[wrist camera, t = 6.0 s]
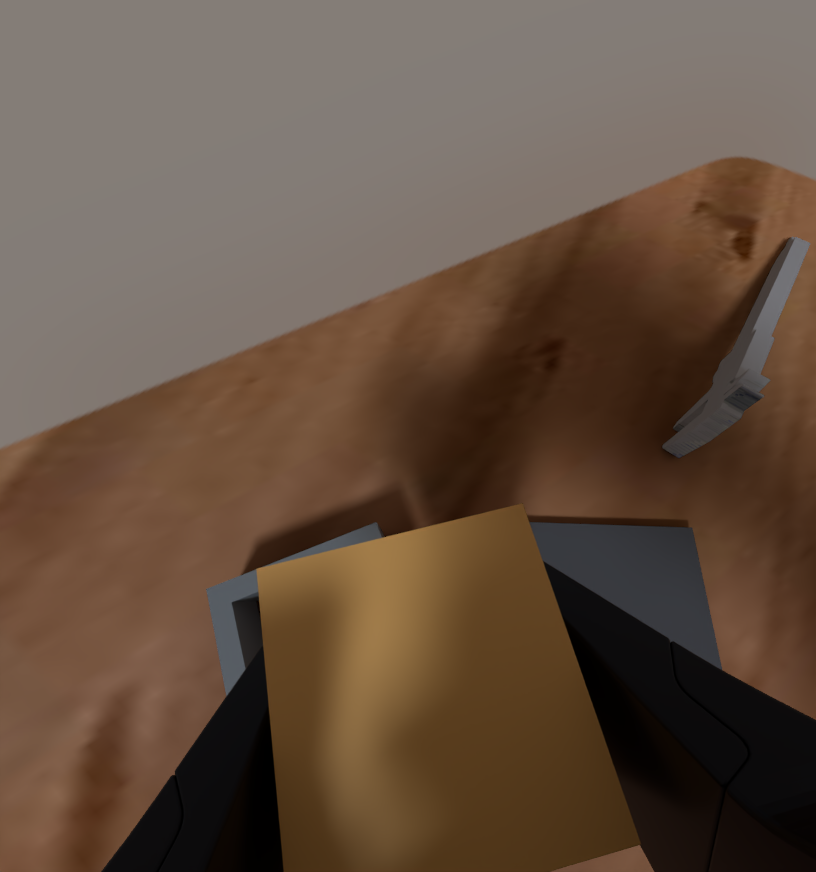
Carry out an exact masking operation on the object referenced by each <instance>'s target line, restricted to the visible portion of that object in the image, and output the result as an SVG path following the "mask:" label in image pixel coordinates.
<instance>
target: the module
mask: <svg viewBox="0 0 816 872" xmlns="http://www.w3.org/2000/svg"><path fill="white" fill-rule="evenodd" d="M256 571H257V582H258V593H259V604H260V615H261V626H262V637H263V648H264V659H265V670H266V681H267V692H268V703H269V714H270V725H271V736H272V747H273V758H274V769H275V780H276V791H277V802H278V813H279V824H280V835H281V846H282V857H283V868H284V872H550V871H553V870H556V869H560V868H563V867H566V866H570V865H573V864H577V863H580V862H583V861H587V860H590V859H593V858H597V857H600V856H604V855H607V854H610V853H614V852H617V851H621V850H624V849H627V848H631V847H634V846H637V845H641V842H640V840H639V837H638V834H637V831H636V828H635V825H634V822H633V819H632V817H631V814H630V811H629V808H628V805H627V802H626V799H625V796H624V793H623V791H622V788H621V785H620V782H619V779H618V776H617V773H616V770H615V768H614V765H613V762H612V759H611V756H610V753H609V750H608V747H607V745H606V742H605V739H604V736H603V733H602V730H601V727H600V724H599V722H598V719H597V716H596V713H595V710H594V707H593V704H592V701H591V698H590V696H589V693H588V690H587V687H586V684H585V681H584V678H583V675H582V673H581V670H580V667H579V664H578V661H577V658H576V655H575V652H574V650H573V647H572V644H571V641H570V638H569V635H568V632H567V629H566V627H565V624H564V621H563V618H562V615H561V612H560V609H559V606H558V603H557V601H556V598H555V595H554V592H553V589H552V586H551V583H550V580H549V578H548V575H547V572H546V569H545V566H544V563H543V560H542V557H541V555H540V552H539V549H538V546H537V543H536V540H535V537H534V534H533V532H532V529H531V526H530V523H529V520H528V517H527V514H526V511H525V508H524V506H523V503H522V504H517V505H513V506H509V507H505V508H501V509H497V510H493V511H489V512H485V513H481V514H477V515H473V516H469V517H465V518H461V519H457V520H452V521H448V522H444V523H440V524H436V525H432V526H428V527H424V528H420V529H416V530H412V531H408V532H404V533H400V534H396V535H392V536H387V537H383V538H379V539H375V540H371V541H367V542H363V543H359V544H355V545H351V546H347V547H343V548H339V549H335V550H331V551H327V552H322V553H318V554H314V555H310V556H306V557H302V558H298V559H294V560H290V561H286V562H282V563H278V564H274V565H270V566H266V567H262V568H257V569H256Z"/></svg>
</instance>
